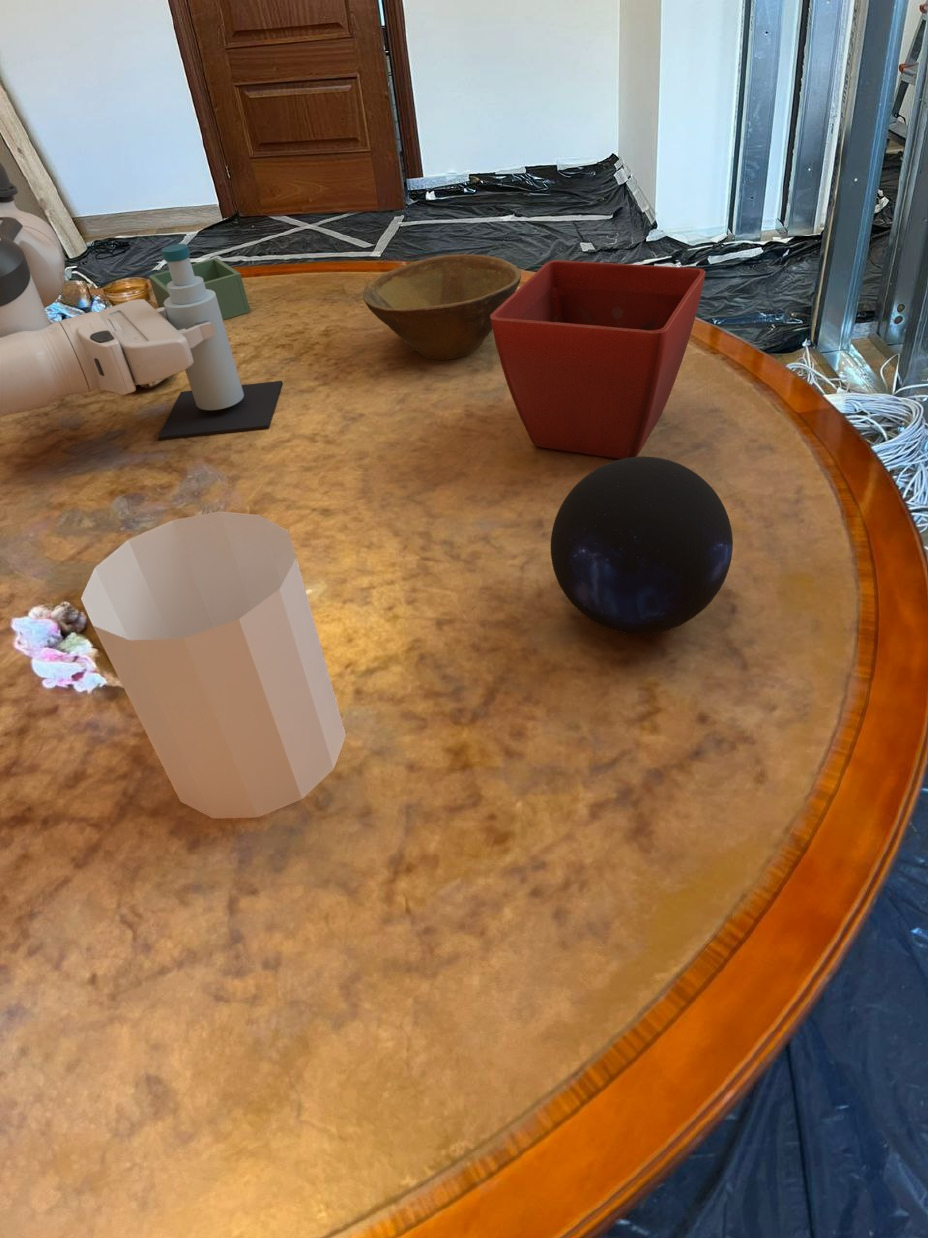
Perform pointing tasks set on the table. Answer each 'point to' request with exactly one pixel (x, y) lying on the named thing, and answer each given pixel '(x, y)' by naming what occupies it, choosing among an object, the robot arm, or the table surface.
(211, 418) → the mat
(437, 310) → the bowl
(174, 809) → the table surface
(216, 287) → the green open box
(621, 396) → the flower pot
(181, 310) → the bottle
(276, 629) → the container
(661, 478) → the decorative sphere
